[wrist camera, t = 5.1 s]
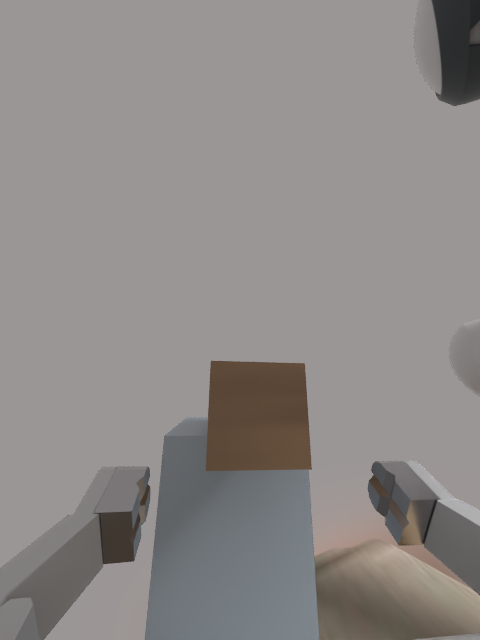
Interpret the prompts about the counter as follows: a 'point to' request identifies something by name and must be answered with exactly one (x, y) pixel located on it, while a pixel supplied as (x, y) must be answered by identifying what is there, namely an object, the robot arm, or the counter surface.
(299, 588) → the stand
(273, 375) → the walnut bar
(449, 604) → the counter surface
